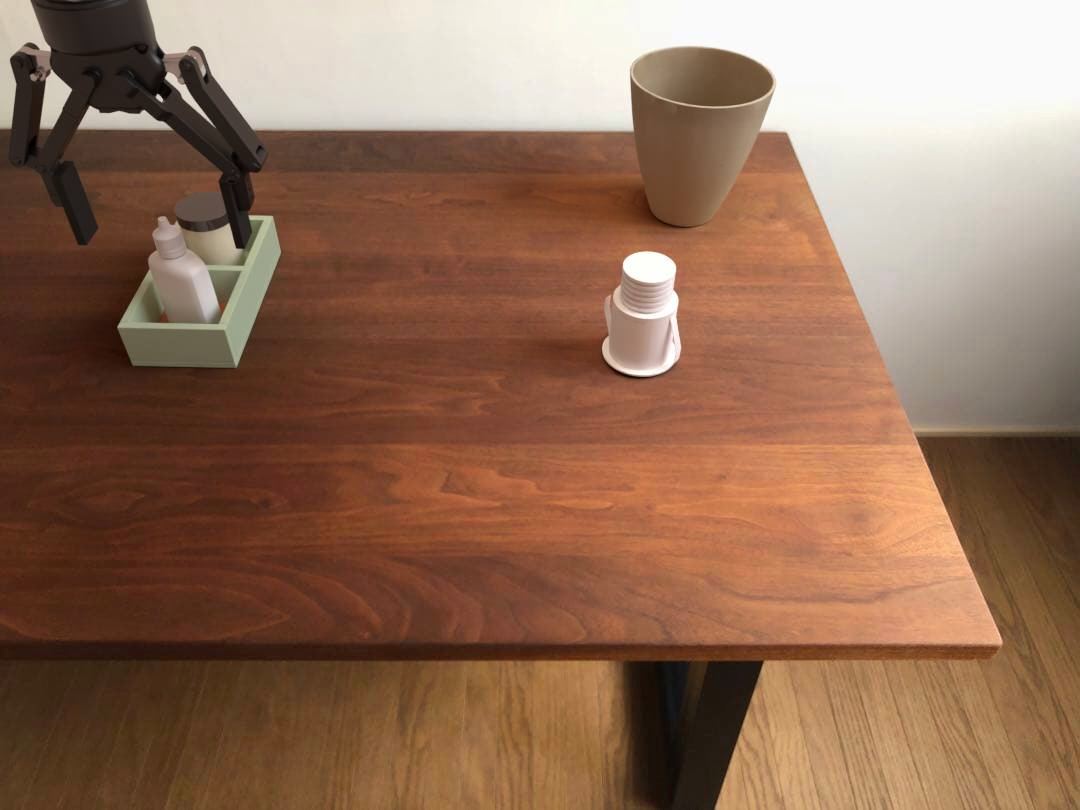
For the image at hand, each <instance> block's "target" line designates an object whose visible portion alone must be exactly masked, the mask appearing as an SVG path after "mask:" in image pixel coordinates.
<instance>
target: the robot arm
mask: <svg viewBox="0 0 1080 810" xmlns="http://www.w3.org/2000/svg"><path fill="white" fill-rule="evenodd" d="M29 1H30V4H31V6H32V9H33V13H34V14H35V18H36V20H37V23H38V26H39V28H40V32H41V34H42V37H43V40H44V42H45V43H46V45H48V46H49V48H50V50H43V49H40V47H39V46H38V45H37V44H36V43H34V42H30V41H29V42H26V43H25V44H23V45H22V46H21V47H20V48H19V49H18V50H16V51H15V53H14V54H12V55H11V56H10V58H9V63H10V67H11V70H12V74H13V78H14V81H15V84H16V85H15V93H14V101H13V111H12V119H11V127H10V137H9V145H8V146H9V147H8V155H7V156H8V157H7V159H8V162H9V164H11V166H13V167H14V168H18V169H19V168H20V169H21V168H23V167H27V168H29V169H32V170H34V171H35V172H36V173H37V174H38V175H40V177H41V180H42V182H43V184H44V187H45V189H46V191H47V195H48V196H49V199H50V201H51V203H52V204H53V205H54V206H55V207H56V208H58V207H59V208H63V212H64V213H65V216H66V218H67V220H68V224H69V227H70V229H71V231H72V234H73V236H74V238H75V241H76V243H77V245H78V246H88V245H89V243H90V242H91V241H92V239H93V237H94V236H95V235H96V233H97V231H98V230H99V225H98V223H97V220H96V216H95V214H94V212H93V209H92V207H91V204H90V201H89V198H88V196H87V193H86V191H85V189H84V185H83V183H82V180H81V178H80V175H79V172H78V170H77V167H76V165H75V162H74V160H63V162H62V163H61V159H62V158H63V157H64V156H65V152H66V150H67V149H68V146H69V145H70V144H71V141H72V139H73V137H74V136H75V134H76V132H77V131H78V128H79V127H80V125H81V124H82V121H83V120H84V118H85V116H86V113H87V112H88V110H89V108H90V107H91V108H93V109H95V110H97V111H98V112H99V114H112V113H117V112H122V113H125V114H130V115H140V114H141V113H142V112H143V111H145V112H146V113H147V114H148V115H149V116H151V117H152V118H153V119H154V120H156V121H157V122H163V123H164V124H166V125H167V126H168V127H169V128H170V129H172V130H173V132H175V133H176V134H177V135H179V136H180V137H181V138H182V139H183V140H184V141H186V143H188V144H189V145H190V146H191V147H192V148H194V149H195V150H196V151H197V152H198V153H200V155H202V156H203V157H204V158H205V159H206V160H207V161H209V162H210V163H211V164H213V166H215V167H216V168H217V169H218V170H219V171H220V172H221V173H222V174H220V177H219V179H218V180H217V181H218V185H219V189H220V193H222V197H223V201H224V205H225V209H226V213H227V216H228V220H229V224H230V228H231V232H232V235H233V239H234V243H235V247H236V249H245V247H246V245H247V243H248V241H249V238H250V236H251V234H252V227H251V223H250V219H249V215H250V214H249V212H250V211H251V208H252V207H253V205H254V203H255V199H256V195H255V191H254V188H253V182H252V179H251V175H250V174H251V173H252V174H253V173H254V174H258V173H260V172H261V170H262V169H263V166H264V164H265V162H266V160H267V158H268V156H269V150H268V148H267V147H266V145H265V144H264V143H263V141H262V140H261V139H260V137H259V136H258V135H257V133H256V132H255V131H254V129H253V128H252V126H251V125H250V124H249V123H248V121H247V120H246V118H245V117H244V115H242V113H241V112H240V111H239V109H238V108H237V106H236V105H235V104H234V103H233V101H232V100H231V98H230V97H229V95H228V94H227V92H225V90H224V89H223V87H222V86H221V85H220V83H219V82H218V81H217V79H216V78H215V77H214V75H213V74H212V71H211V68H210V65H209V63H208V60H207V57H206V55H205V52H204V50H203V49H202V48H201V47H199V46H197V45H192V46H190V47H189V48H188V50H187V51H185V52H176V53H175V52H174V53H165V52H164V51H163V49H162V47H161V46H160V45H159V43H158V40H157V36H156V31H155V26H154V22H153V17H152V14H151V10H150V7H149V4H148V0H29ZM52 72H53V73H54V74H55V75H56V76H57V77H58V78H59V79H60V80H61V81H62V82H63V83H64V84H66V85H67V87H69V88H70V89H71V91H70V93H69V95H68V97H67V99H66V100H65V103H64V104H63V106H62V108H61V112H60V114H59V115H58V118H57V120H56V122H55V124H54V126H53V127H52V129H51V131H50V132H49V135H48V137H47V139H46V141H45V143H44V144H43V147H40V146H38V144H39V136H40V129H41V121H42V116H43V115H42V113H43V107H44V101H45V100H44V99H45V91H46V84H47V78H48V77H49V76H50V75H51V73H52ZM168 73H170V74H173V75H174V77H176V79H177V83H179V84H180V85H182V86H183V85H185V87H186V89H187V91H188V92H189V95H190V96H191V98H192V99H193V101H195V103H196V104H197V106H198V107H199V108H200V109H201V111H202V112H203V114H204V115H205V116H206V117H207V118H208V120H207V119H206V117H205V116H204V115H202V114H201V113H199V112H198V110H196V109H195V108H194V107H193V106H191V104H189V103H188V102H187V101H186V100H185V99H184V98H183V96H182V93H181V91H180V90H179V89H178V88H177V87H176V86H174V85H173V84H172V83H171V82H169V80H167V78H166V77H167V75H168ZM157 96H159V97H160V98H161V99H162V101H161V100H160V99H158V98H157Z"/></svg>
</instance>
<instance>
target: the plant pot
mask: <svg viewBox="0 0 1080 810" xmlns="http://www.w3.org/2000/svg"><path fill="white" fill-rule="evenodd" d="M629 80H630V82H629V83H630V101H631V116H632V117H631V119H632V126H633V135H634V142H635V150H636V155H637V161H638V165H639V170H640V176H641V180H642V184H643V188H644V191H645V196H646V199H647V202H648V205H649V209H650V211H651V214H652V215H653V216H654V217H655V218H656V219H657V220H660V221H661V222H663V223H666V224H669V225H671V226H675V227H683V228H684V227H686V228H690V227H692V228H693V227H699V226H702V225H704V224H707V223H708V222H710V221H711V220H712V219H714V217H715V215H716V213H717V212H718V210H719V209H720V208H721V206H722V205H723V203H724V201H725V200H726V198H727V196H728V195H729V193H730V191H731V190H732V188H733V186H734V184H735V183H736V181H737V179H738V178H739V175H740V174H741V171H742V169H743V168H744V166H745V164H746V161H747V160H748V158H749V155H750V153H751V151H752V149H753V147H754V145H755V143H756V140H757V138H758V136H759V133H760V131H761V128H762V126H763V124H764V120H765V118H766V115H767V112H768V110H769V107H770V104H771V102H772V98H773V95H774V93H775V91H776V87H777V78H776V76H775V74H774V73H773V72H772V70H771V69H770V68H769V67H768V66H766V65H764V64H763V63H762V62H761V61H759V60H756V59H755V58H753V57H751V56H748V55H746V54H743V53H740V52H737V51H733V50H730V49H725V48H720V47H711V46H703V45H678V46H670V47H664V48H657V49H654V50H652V51H649V52H646V53H644V54H642V55H641V56H638V57H637V58H636V59H635V60H634V61H633V62H632V63H631V65H630V67H629Z"/></svg>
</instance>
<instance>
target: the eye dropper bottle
mask: <svg viewBox="0 0 1080 810" xmlns="http://www.w3.org/2000/svg"><path fill="white" fill-rule="evenodd" d="M157 225H158V227H156V228H155V229H154V230H153V231H152V233H151V237H152V239H153V240H152V241H153V242H154V245H155V248H156V250H155V251H153V252H152V253H151V254H150V255H148V258H147V263H148V268H149V269H150V271H151V274H152V277H153V280H154V282H155V285H156V288H157V291H158V294H159V297H160V299H161V302H162V305H163V308H164V310H165V313H166V316H167V319H168V321H169V323H186V324H219V322H220V320H221V317H222V314H221V311H220V307H219V304H218V301H217V297H216V294H215V291H214V288H213V284H212V281H211V278H210V275H209V272H208V269H207V267H206V265H205V263H204V262H203V261H202V260H201V259H200V258H199V257H198V256H197V255H196V254H195V253H193V252H192V251H190V250H189V249H187V247H186V244H185V241H184V237H183V234H182V231H181V229H180V228H179V227H178V226H175V225H174V224H171V222H169V220H168V218H167V216H166V215H165V216H164V215H162V216H159V217H157Z"/></svg>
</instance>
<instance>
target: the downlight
mask: <svg viewBox="0 0 1080 810" xmlns="http://www.w3.org/2000/svg"><path fill="white" fill-rule="evenodd" d="M621 272H622V273H621V282H620V284H619V285H618V286H617V287H616V288H615V290H613V294H609V295H608V296H607V297H606V298H605V299H604V306H603V314H604V318H605V323H606V327H607V332H608V335H607V336H606V337H605V338H604V340H603V342H602V347H601V352H602V356H603V359H604V360H605V361H606V363H607V364H608V365H609V366H610V367H611V368H613V369H614V370H616V371H618V372H620V373H621V374H625V375H627V376H632V377H641V378H643V377H653V376H657V375H661V374H663V373H665V372H667V371H668V370H669V369H671V368H672V366H674V365H675V364H676V362H678V360H680V357H681V351H682V344H681V338H680V332H679V327H678V319H677V314H678V308H679V296H678V294H677V292H676V291H675V290H674V287H675V279H676V273H677V266H676V263H675V262H674V260H672V259H671V258H670V257H669V256H667V255H665V254H663V253H661V252H657V251H656V252H655V251H639V252H635V253H632V254H629V255H627V257H625V259H624V261H623V263H622V271H621ZM611 296H613V297H612V307H610V306H611V305H610V304H611Z"/></svg>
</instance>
